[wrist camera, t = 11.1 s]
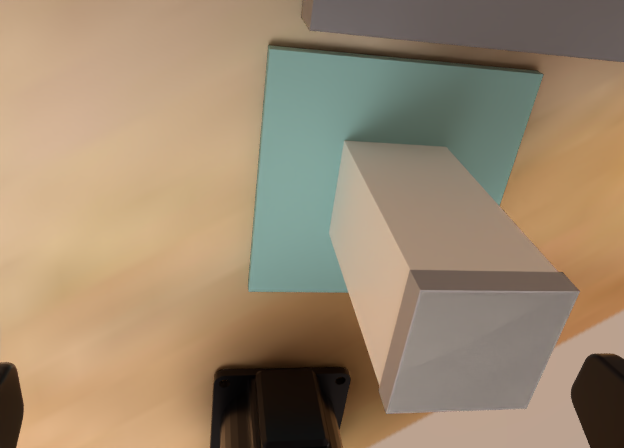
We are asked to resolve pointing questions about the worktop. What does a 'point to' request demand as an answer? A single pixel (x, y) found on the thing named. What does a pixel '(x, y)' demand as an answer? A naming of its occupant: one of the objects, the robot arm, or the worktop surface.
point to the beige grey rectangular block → (442, 282)
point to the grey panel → (482, 23)
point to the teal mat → (366, 128)
